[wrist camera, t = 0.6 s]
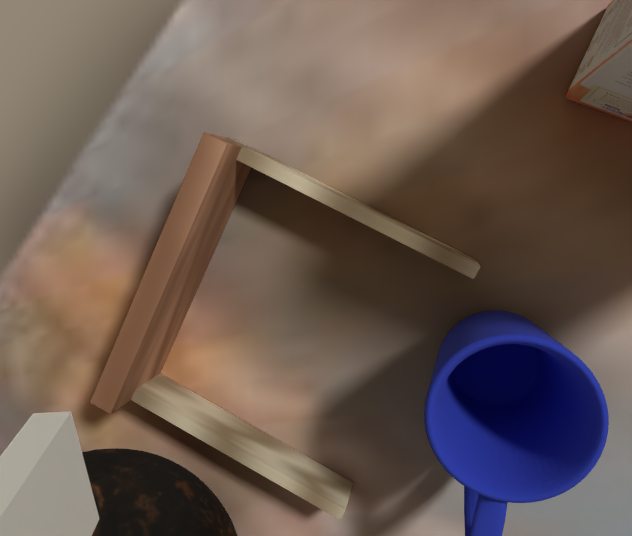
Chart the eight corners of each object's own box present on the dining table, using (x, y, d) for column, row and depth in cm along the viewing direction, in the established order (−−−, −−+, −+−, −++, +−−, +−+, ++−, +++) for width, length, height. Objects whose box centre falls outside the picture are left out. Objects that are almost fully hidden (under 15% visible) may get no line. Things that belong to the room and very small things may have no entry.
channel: (476, 259, 36) (484, 273, 30) (348, 491, 40) (333, 543, 34) (238, 140, 38) (203, 132, 32) (137, 372, 42) (89, 402, 36)
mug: (406, 461, 39) (397, 552, 29) (439, 285, 37) (441, 319, 27) (534, 491, 37) (569, 597, 28) (575, 309, 35) (628, 354, 26)
